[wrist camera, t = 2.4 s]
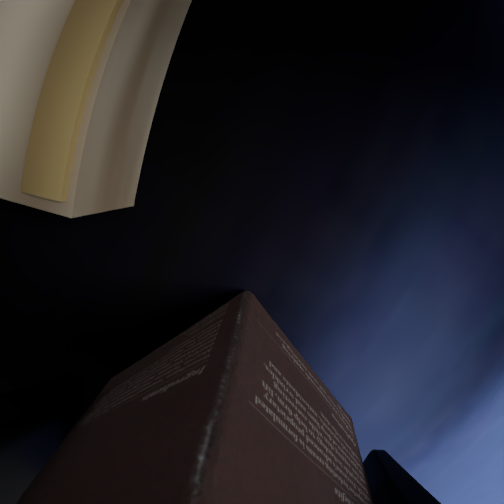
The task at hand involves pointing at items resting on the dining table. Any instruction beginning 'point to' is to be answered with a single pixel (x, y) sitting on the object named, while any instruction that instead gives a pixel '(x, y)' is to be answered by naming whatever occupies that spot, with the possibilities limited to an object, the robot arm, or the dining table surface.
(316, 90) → the dining table surface
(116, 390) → the box
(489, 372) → the dining table surface
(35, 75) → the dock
